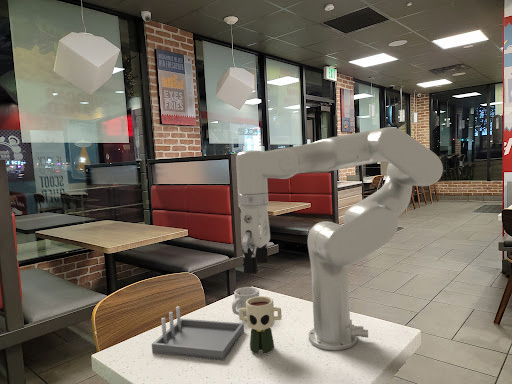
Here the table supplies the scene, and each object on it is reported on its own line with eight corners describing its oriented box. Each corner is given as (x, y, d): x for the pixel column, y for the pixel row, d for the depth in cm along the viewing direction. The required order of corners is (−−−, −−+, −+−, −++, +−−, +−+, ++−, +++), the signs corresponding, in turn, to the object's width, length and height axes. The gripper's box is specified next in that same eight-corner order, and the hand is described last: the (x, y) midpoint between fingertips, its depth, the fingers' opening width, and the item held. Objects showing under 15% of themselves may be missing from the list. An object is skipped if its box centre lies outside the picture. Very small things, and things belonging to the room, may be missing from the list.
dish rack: (244, 331, 106) (242, 305, 106) (223, 361, 91) (221, 330, 91) (181, 326, 112) (179, 301, 112) (152, 353, 97) (150, 324, 97)
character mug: (239, 357, 93) (236, 306, 92) (243, 343, 100) (240, 296, 99) (282, 357, 91) (280, 306, 90) (283, 343, 98) (281, 295, 97)
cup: (244, 326, 110) (242, 300, 110) (224, 320, 115) (222, 295, 114) (265, 313, 119) (264, 289, 118) (246, 308, 124) (244, 285, 123)
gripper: (257, 204, 83) (261, 278, 85) (276, 196, 100) (279, 259, 101) (226, 204, 85) (230, 277, 87) (249, 197, 102) (252, 258, 103)
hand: (256, 267), depth 94 cm, fingers open, 9 cm apart
